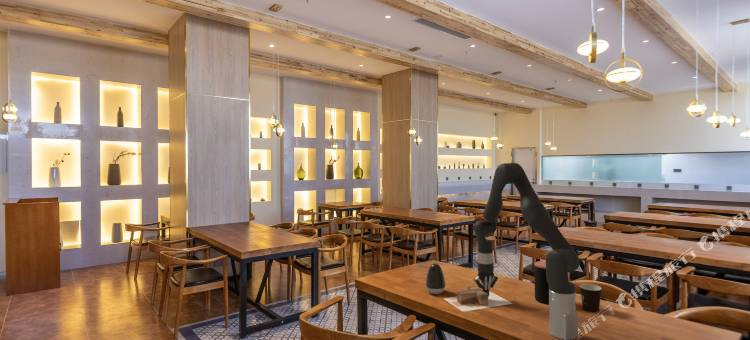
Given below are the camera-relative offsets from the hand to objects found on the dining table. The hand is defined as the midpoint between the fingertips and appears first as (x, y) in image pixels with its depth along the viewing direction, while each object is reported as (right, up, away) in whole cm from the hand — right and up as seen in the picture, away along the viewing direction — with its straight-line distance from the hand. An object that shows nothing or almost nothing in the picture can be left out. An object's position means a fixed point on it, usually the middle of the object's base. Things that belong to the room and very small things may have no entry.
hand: (486, 296), depth 189 cm
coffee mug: (+44, -1, -13) cm, 46 cm away
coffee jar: (+28, -1, -3) cm, 28 cm away
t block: (-8, -2, -2) cm, 9 cm away
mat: (-5, -2, -2) cm, 5 cm away
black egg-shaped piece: (-23, -2, +12) cm, 26 cm away
